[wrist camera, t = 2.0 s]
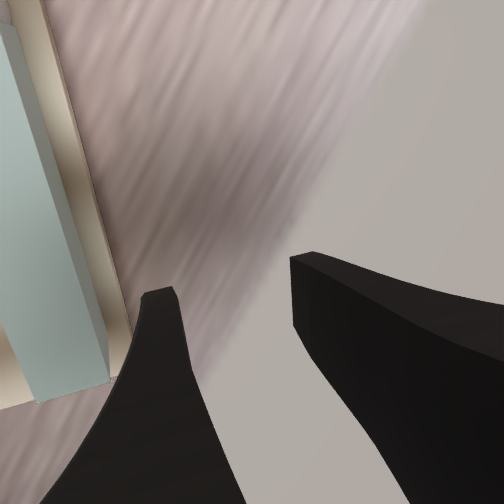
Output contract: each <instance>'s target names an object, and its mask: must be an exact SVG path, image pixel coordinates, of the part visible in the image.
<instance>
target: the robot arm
mask: <svg viewBox="0 0 504 504" xmlns="http://www.w3.org/2000/svg"><path fill="white" fill-rule="evenodd" d="M290 271H291V272H290V273H291V292H292V310H293V326H294V328H295V329H296V331H297V333H298V335H299V337H300V339H301V341H302V343H303V345H304V347H305V348H306V350H307V352H308V353H309V355H310V357H311V359H312V360H313V361H314V363H315V364H316V366H317V367H318V368H319V370H320V371H321V372H322V374H323V375H324V376H325V378H326V379H327V380H328V382H329V383H330V385H331V386H332V387H333V388H334V390H335V391H336V392H337V394H338V395H339V396H340V397H341V399H342V400H343V401H344V403H345V404H346V406H347V407H348V408H349V410H350V411H351V412H352V413H353V415H354V416H355V418H356V419H357V420H358V422H359V423H360V424H361V425H362V427H363V428H364V430H365V431H366V433H367V434H368V436H369V437H370V439H371V440H372V441H373V443H374V444H375V446H376V447H377V449H378V451H379V452H380V454H381V456H382V457H383V459H384V461H385V462H386V464H387V466H388V467H389V469H390V470H391V472H392V474H393V476H394V477H395V479H396V481H397V482H398V484H399V486H400V487H401V489H402V491H403V493H404V494H405V496H406V498H407V500H408V501H409V503H410V504H504V305H500V304H495V303H490V302H485V301H480V300H475V299H470V298H466V297H461V296H457V295H452V294H448V293H443V292H440V291H435V290H432V289H429V288H425V287H422V286H418V285H415V284H411V283H408V282H404V281H401V280H398V279H395V278H392V277H389V276H386V275H383V274H380V273H377V272H374V271H371V270H368V269H365V268H363V267H360V266H357V265H354V264H351V263H348V262H346V261H343V260H340V259H337V258H334V257H331V256H328V255H324V254H321V253H317V252H313V251H312V252H308V253H304V254H301V255H296V256H292V257H290ZM40 504H246V502H245V499H244V497H243V495H242V492H241V490H240V488H239V486H238V484H237V481H236V479H235V477H234V474H233V472H232V470H231V468H230V465H229V463H228V460H227V458H226V455H225V453H224V451H223V448H222V446H221V443H220V441H219V438H218V436H217V434H216V431H215V429H214V426H213V424H212V421H211V419H210V416H209V414H208V411H207V408H206V406H205V403H204V400H203V398H202V395H201V393H200V390H199V387H198V384H197V382H196V379H195V376H194V374H193V371H192V367H191V362H190V357H189V352H188V347H187V342H186V337H185V332H184V327H183V322H182V317H181V311H180V306H179V301H178V298H177V295H176V293H175V291H174V289H173V287H172V286H170V287H166V288H162V289H158V290H154V291H149V292H145V293H144V294H143V296H142V297H141V305H140V312H139V317H138V321H137V325H136V328H135V332H134V335H133V338H132V341H131V344H130V347H129V350H128V353H127V355H126V358H125V360H124V363H123V365H122V368H121V370H120V372H119V375H118V377H117V380H116V382H115V384H114V386H113V388H112V390H111V392H110V394H109V396H108V398H107V400H106V402H105V404H104V406H103V408H102V410H101V412H100V413H99V415H98V417H97V419H96V421H95V422H94V424H93V426H92V427H91V429H90V431H89V432H88V434H87V436H86V437H85V439H84V440H83V442H82V444H81V445H80V447H79V449H78V450H77V452H76V453H75V455H74V456H73V458H72V459H71V461H70V462H69V464H68V465H67V467H66V468H65V470H64V471H63V473H62V474H61V476H60V477H59V478H58V480H57V481H56V482H55V484H54V485H53V486H52V488H51V489H50V490H49V492H48V493H47V494H46V496H45V497H44V498H43V500H42V501H41V502H40Z"/></svg>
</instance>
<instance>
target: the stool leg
mask: <svg viewBox="0 0 504 504" xmlns="http://www.w3.org/2000/svg"><path fill="white" fill-rule="evenodd" d="M0 321H1V324H2V326H3V328H4V330H5V333H6V335H7V337H8V340H9V342H10V344H11V346H12V349H13V351H14V353H15V356H16V358H17V360H18V363H19V365H20V367H21V369H22V372H23V374H24V376H25V379H26V381H27V383H28V385H29V388H30V390H31V392H32V395H33V397H34V399H35V402H36V404H37V403H41V402H44V401H48V400H51V399H54V398H58V397H61V396H65V395H68V394H72V393H75V392H78V391H82V390H85V389H89V388H92V387H95V386H99V385H102V384H106V383H109V382H111V378H110V363H109V348H108V334H107V330H106V326H105V323H104V320H103V316H102V313H101V310H100V306H99V303H98V300H97V296H96V293H95V290H94V286H93V283H92V280H91V276H90V273H89V270H88V266H87V263H86V260H85V257H84V253H83V250H82V247H81V243H80V240H79V237H78V233H77V230H76V227H75V223H74V220H73V217H72V213H71V210H70V207H69V203H68V200H67V197H66V193H65V190H64V187H63V183H62V180H61V177H60V173H59V170H58V167H57V163H56V160H55V157H54V153H53V150H52V147H51V143H50V140H49V137H48V133H47V130H46V127H45V124H44V120H43V117H42V114H41V110H40V107H39V104H38V100H37V97H36V94H35V90H34V87H33V84H32V80H31V77H30V74H29V70H28V67H27V64H26V60H25V57H24V54H23V50H22V47H21V44H20V40H19V37H18V34H17V30H16V27H13V26H11V13H10V9H9V6H8V3H7V0H0Z"/></svg>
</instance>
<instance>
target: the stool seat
mask: <svg viewBox="0 0 504 504" xmlns="http://www.w3.org/2000/svg"><path fill="white" fill-rule="evenodd" d="M7 3H8V6H9V9H10V13H11V26H13V27H16V30H17V34H18V37H19V40H20V44H21V47H22V50H23V54H24V57H25V60H26V64H27V67H28V70H29V74H30V77H31V80H32V84H33V87H34V90H35V94H36V97H37V100H38V104H39V107H40V110H41V114H42V117H43V120H44V124H45V127H46V130H47V133H48V137H49V140H50V143H51V147H52V150H53V153H54V157H55V160H56V163H57V167H58V170H59V173H60V177H61V180H62V183H63V187H64V190H65V193H66V197H67V200H68V203H69V207H70V210H71V213H72V217H73V220H74V223H75V227H76V230H77V233H78V237H79V240H80V243H81V247H82V250H83V253H84V257H85V260H86V263H87V266H88V270H89V273H90V276H91V280H92V283H93V286H94V290H95V293H96V296H97V300H98V303H99V306H100V310H101V313H102V316H103V320H104V323H105V326H106V330H107V334H108V348H109V363H110V378H111V377H115V376H118V375H119V372H120V370H121V368H122V365H123V363H124V360H125V358H126V355H127V353H128V350H129V347H130V344H131V341H132V338H133V333H132V329H131V326H130V322H129V318H128V314H127V311H126V307H125V303H124V299H123V296H122V292H121V288H120V284H119V281H118V277H117V273H116V270H115V266H114V262H113V258H112V255H111V251H110V247H109V243H108V240H107V236H106V232H105V228H104V225H103V221H102V217H101V213H100V210H99V206H98V202H97V199H96V195H95V191H94V187H93V184H92V180H91V176H90V172H89V169H88V165H87V161H86V157H85V154H84V150H83V146H82V142H81V139H80V135H79V131H78V128H77V124H76V120H75V116H74V113H73V109H72V105H71V101H70V98H69V94H68V90H67V86H66V83H65V79H64V75H63V71H62V68H61V64H60V60H59V57H58V53H57V49H56V45H55V42H54V38H53V34H52V30H51V27H50V23H49V19H48V15H47V12H46V8H45V4H44V0H7ZM32 400H35V399H34V397H33V395H32V392H31V390H30V388H29V385H28V383H27V381H26V379H25V376H24V374H23V372H22V369H21V367H20V365H19V363H18V360H17V358H16V356H15V353H14V351H13V349H12V346H11V344H10V342H9V340H8V337H7V335H6V333H5V330H4V328H3V326H2V324H1V321H0V410H1V409H4V408H8V407H11V406H15V405H18V404H22V403H25V402H29V401H32Z"/></svg>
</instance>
